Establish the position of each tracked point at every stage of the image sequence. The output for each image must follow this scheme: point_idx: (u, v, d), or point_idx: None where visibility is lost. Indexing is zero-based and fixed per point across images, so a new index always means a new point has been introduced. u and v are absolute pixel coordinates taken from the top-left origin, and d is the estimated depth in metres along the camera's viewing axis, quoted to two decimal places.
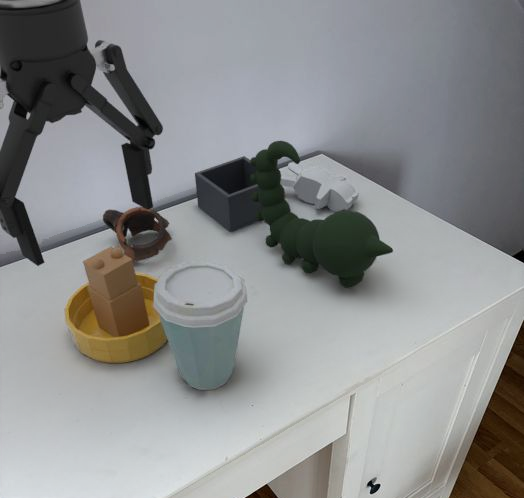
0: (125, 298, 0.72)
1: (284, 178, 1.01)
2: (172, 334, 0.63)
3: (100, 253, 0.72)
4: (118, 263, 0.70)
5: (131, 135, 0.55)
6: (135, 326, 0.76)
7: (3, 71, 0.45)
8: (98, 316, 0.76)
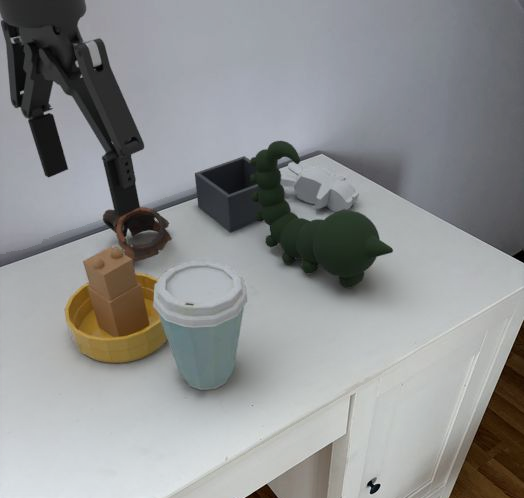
0: (125, 298, 0.72)
1: (284, 178, 1.01)
2: (172, 334, 0.63)
3: (100, 253, 0.72)
4: (118, 263, 0.70)
5: (48, 98, 0.62)
6: (135, 326, 0.76)
7: (68, 37, 0.50)
8: (98, 316, 0.76)
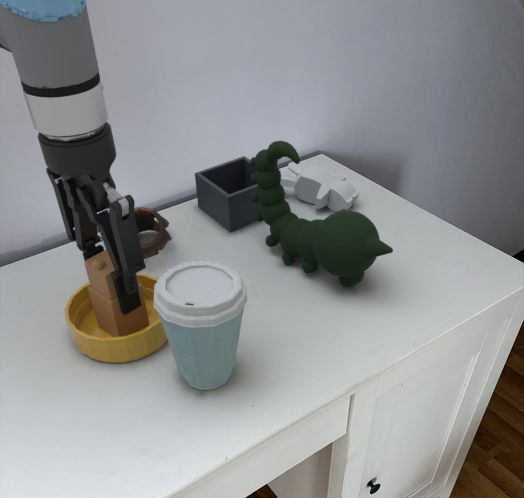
0: None
1: (284, 178, 1.01)
2: (172, 334, 0.63)
3: (101, 253, 0.71)
4: None
5: (96, 230, 0.71)
6: (135, 326, 0.76)
7: (101, 181, 0.60)
8: (98, 316, 0.76)
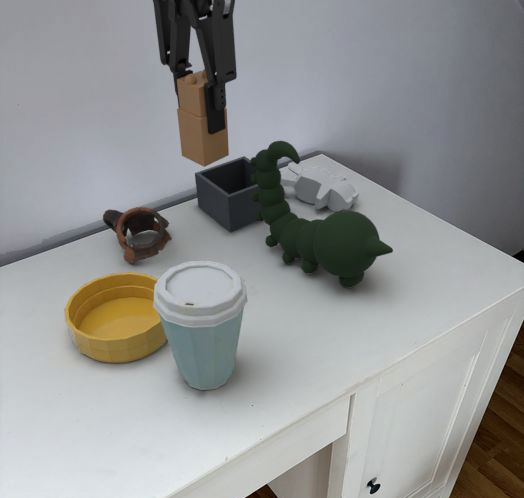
0: None
1: (284, 178, 1.01)
2: (172, 334, 0.63)
3: None
4: None
5: (188, 52, 0.77)
6: (217, 153, 0.83)
7: None
8: (183, 142, 0.82)
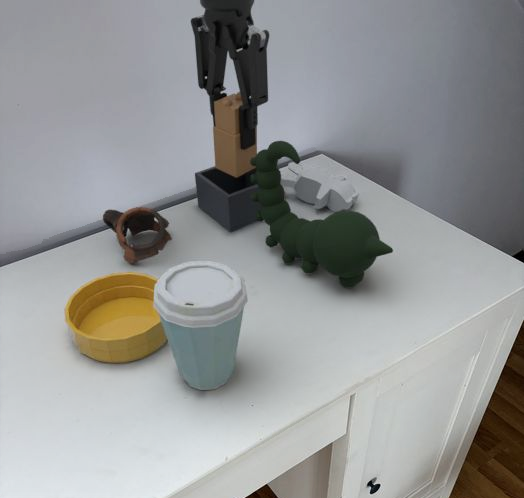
0: None
1: (284, 178, 1.01)
2: (172, 334, 0.63)
3: (226, 97, 0.88)
4: None
5: (223, 77, 0.88)
6: (248, 165, 0.93)
7: (245, 18, 0.77)
8: (218, 156, 0.93)
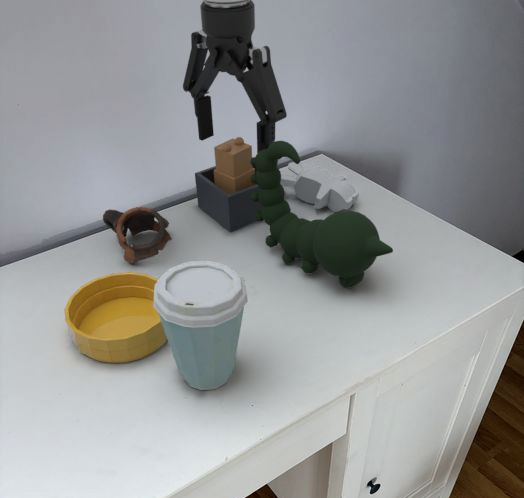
0: (243, 178, 0.95)
1: (284, 178, 1.01)
2: (172, 334, 0.63)
3: (226, 142, 0.94)
4: (241, 148, 0.92)
5: (210, 85, 0.90)
6: None
7: (246, 44, 0.79)
8: None
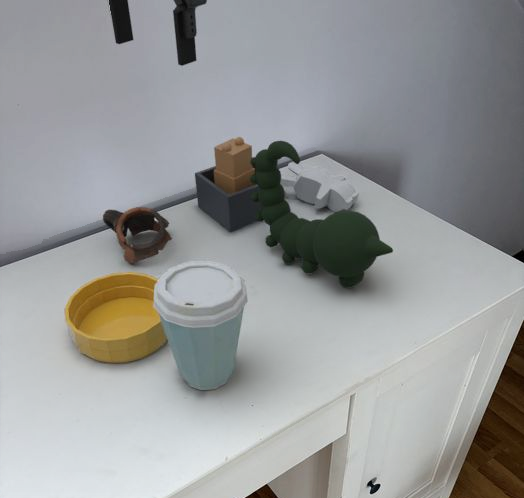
0: (243, 178, 0.95)
1: (284, 178, 1.01)
2: (172, 334, 0.63)
3: (226, 142, 0.94)
4: (241, 148, 0.92)
5: None
6: None
7: None
8: None
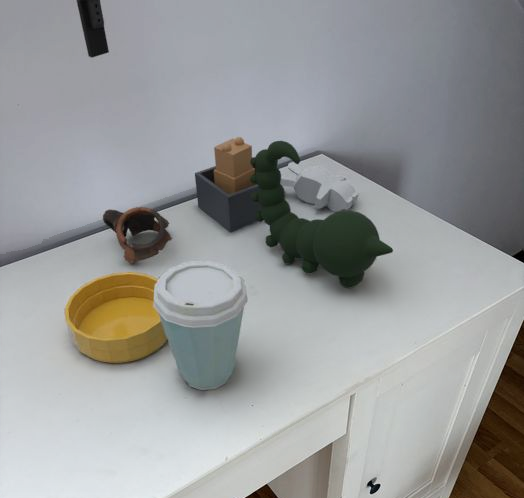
0: (243, 178, 0.95)
1: (284, 178, 1.01)
2: (172, 334, 0.63)
3: (226, 142, 0.94)
4: (241, 148, 0.92)
5: None
6: None
7: None
8: None
